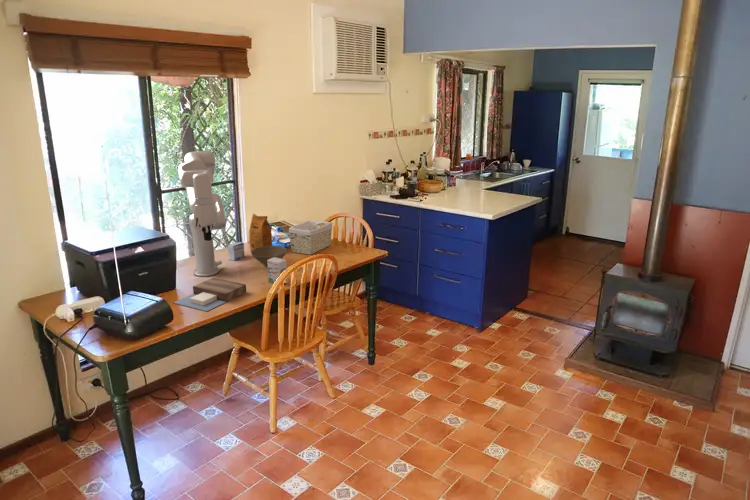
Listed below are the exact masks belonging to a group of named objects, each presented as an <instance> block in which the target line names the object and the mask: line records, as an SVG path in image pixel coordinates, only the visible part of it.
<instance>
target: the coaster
mask: <svg viewBox="0 0 750 500" xmlns="http://www.w3.org/2000/svg"><path fill="white" fill-rule="evenodd" d="M215 300H217V295H213V294H209V293H205V292H203V293H200V294H198V295H196V296H193V297H191V298H190V302H191V303H195V304H199V305H203V306H204V305H206V304H208V303H210V302H213V301H215Z"/></svg>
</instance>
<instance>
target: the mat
mask: <svg viewBox="0 0 750 500" xmlns="http://www.w3.org/2000/svg"><path fill="white" fill-rule="evenodd" d="M193 296H196V294H194V293H192V294H190V295H187V296H185V297H183V298H180V299H179V300H176V301H174V302H173V304H175V305H178V306H182V307H187V308H191V309H194V310H199V311H201V312H202V311H203V312H206V313H208V312H210V311H212V310H213V309H216V308H218V307H220V306H222V305H224V304H225V303H227V302H226V301H221V300H215V301H213V302H210V303H208V304H206V305H204V306H203V305H199V304H195V303H191V302H190V298H191V297H193Z"/></svg>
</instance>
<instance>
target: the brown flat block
mask: <svg viewBox="0 0 750 500" xmlns="http://www.w3.org/2000/svg"><path fill="white" fill-rule="evenodd" d="M192 292H193V293H192V294H196V295H198V294H200V293H203V292H205V293H209V294H213V295H217V300H221V301H226V303H228V302H230V301H232V300H234V299H237V298H238V297H240V296H243V295H244V294H247V284H245V283H242V282H235V281H231V280H227V279H222V278H217V277H212V278H209V279H207V280H204V281H202V282H200V283H198V284H197V283H196V284H195V285H193V286H192Z"/></svg>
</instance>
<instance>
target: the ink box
mask: <svg viewBox="0 0 750 500" xmlns="http://www.w3.org/2000/svg"><path fill="white" fill-rule="evenodd" d="M267 264H268V265H267V276H268V283H270V284H273V283H274V282H275V281H276V279H277V278H278V277H279V276H280V274H281V273H282V272H283V271H284V270H286V269H288V268H287V259H284V258H282V259H280V258H276V257H273V258H271V259H268V260H267ZM286 282H287V283H288V278H287V279H286Z"/></svg>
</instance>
